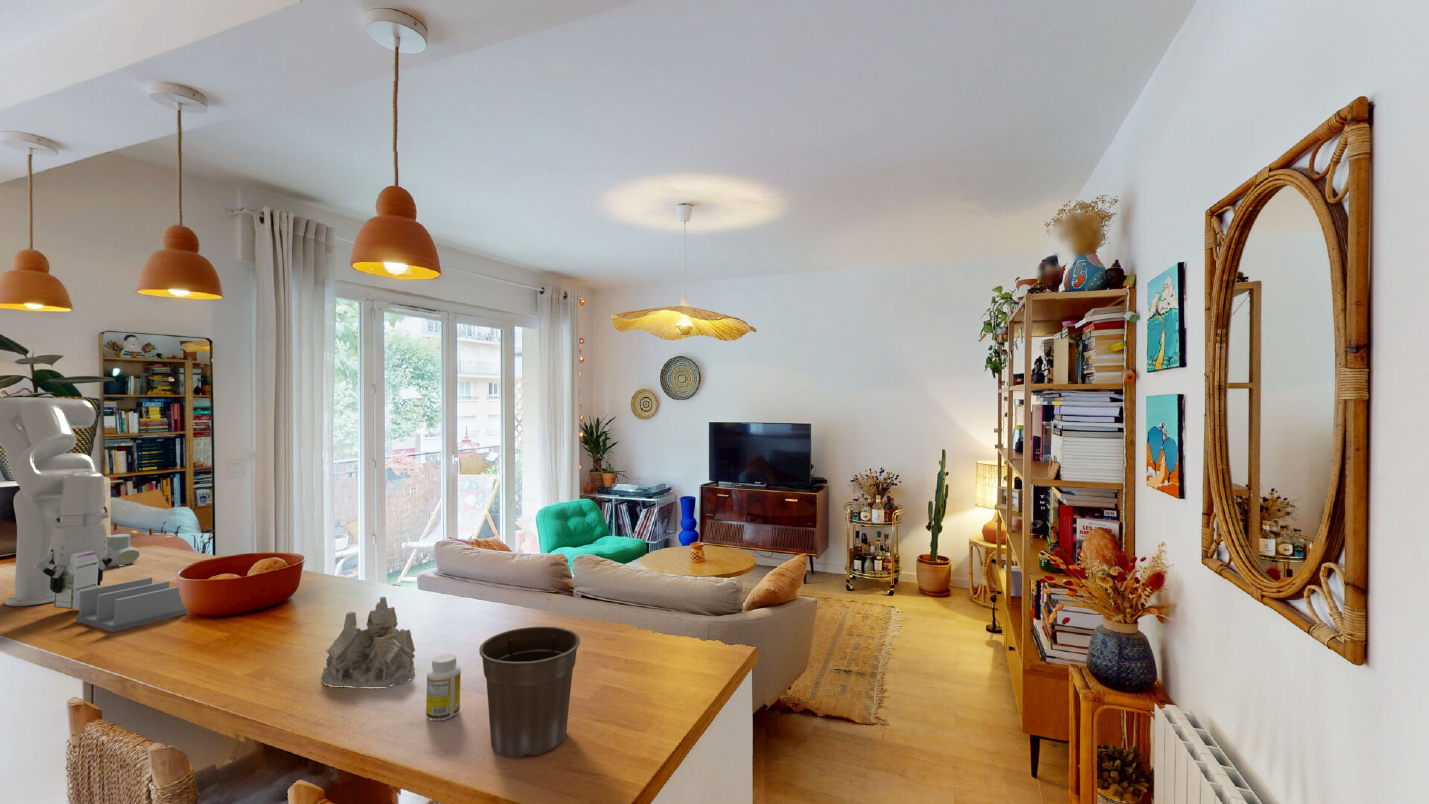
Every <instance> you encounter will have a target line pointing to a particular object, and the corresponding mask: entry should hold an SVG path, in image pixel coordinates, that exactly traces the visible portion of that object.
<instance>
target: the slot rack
mask: <svg viewBox="0 0 1429 804" xmlns="http://www.w3.org/2000/svg"><path fill="white" fill-rule="evenodd" d="M178 586H179V585H177V586H174V587H170V581H168V580H166V581H161V582H155V583H153V577H150V576H149V577H144V578H139V579H134V580H129V581H123V582H119V583H114V584H109V585H108V584H107V585H103V586H97V588H92V589H87V590H81V591H80V604H79V608H78V614H77V615H76V616H75V622H76V621H77V622H76V623H79V622H80V624H83V623H84V625H86V624H87V625H86V626H91V627H93V626H95V627H94V628H96V627H98V628H97V629H100V630H103V629H105V630H104V631H107V630H108V631H107V632H110V633H116V632H120V631H124V630H123V629H125V630H129V629H133V628H135V627H134V626H137V627H140V625H141V626H144V625H143V624H145V625H147V624H146V623H149V624H151V623H152V622H153V623H155V621H157V622H159V621H158V620H161V621H165V620H167V619H166V618H169V619H172V617H173V618H175V616H177V617H180V616H179V615H181V616H184V614H185V615H188V614H189V610H188V611H187V609H186V608H185V607H184V605H183V603H182V601H181V596H180V594H179V588H178ZM164 619H165V620H164ZM153 623H152V624H153ZM132 627H133V628H132Z"/></svg>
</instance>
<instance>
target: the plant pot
mask: <svg viewBox="0 0 1429 804" xmlns="http://www.w3.org/2000/svg"><path fill="white" fill-rule="evenodd" d="M580 643H581V638H580V635H578V634H577V633H576V632H575V631H573V630H570V629H565V628H564V627H563V628H562V627H559V626H529V627H522V628H515V629H510V630H506V631H503V632H500V633H498V634H495V635H492V636H491V637H489V638H487V639H486V640H484V641H483V642H482V643H481V644H480V646H479V649H478V651H479V656H480V657H481V658H482V666H483V667H482V668H483V674H484V675H483V676H484V677H485V681H486V691H487V693H486V694H487V704H488V718H489V719H488V720H489V731H490V732H489V733H490V735H489V736H490V746H491V748H492V750H493V749H494V750H493V751H494V752H495V751H496V752H495V753H497V754H498V753H499V755H500V756H503V755H504V757H507V758H513V757H516V759H517V757H521V758H523V757H524V756H526V755H531V756H532V757H536V756H541V755H542V754H545V753H549V752H550V751H551V750H554V749H555V748H557V747H558V746H559V745H561V744H562V742H563V741H564V740H565V739H566V736H567V731H568V718H569V710H570V709H569V708H570V699H571V689H572V680H573V670H574V667H575V665H576V661H577V660H576V659H577V649H578V648H579V646H580Z"/></svg>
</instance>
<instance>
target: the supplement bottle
mask: <svg viewBox="0 0 1429 804" xmlns="http://www.w3.org/2000/svg"><path fill="white" fill-rule="evenodd" d="M461 671H462V670H461V667H460V665H458V663H457V655H456V654H454V653H442V654H438V655H436V656H434V657H433V658H432V662H431V668H430V669H428V670H427V673H426V701H425V702H426V706H425V708H426V709H425V716H426V718H427V719H428V720H429V719H432V720H443V719H448V720H450V719H452V718H451V717H453V716H454V717H455V715H456V714H457V713H458V714H459V712H460V708H461V673H462V672H461ZM458 714H457V715H458ZM457 715H456V716H457ZM454 717H453V718H454ZM449 718H450V719H449ZM432 720H431V721H432Z"/></svg>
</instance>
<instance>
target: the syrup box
mask: <svg viewBox="0 0 1429 804" xmlns="http://www.w3.org/2000/svg"><path fill="white" fill-rule="evenodd" d="M98 564H99V560H98V558H97V557H96V555H95V553H94V551H91V550H88V551H82V552H78V553H74V554H72V555H71V558H70V564H69V566H66V568H65V569H64V571H63V572H62V574H61V575H60V577H62V578H63V582H62V592H61V593H55V601H54V602H53V603H54V604H53V605H54V606H53V607H54V608H60V609H67V610H75V609H79V604H80V591H81V590H87V589H92V588H97V587H98V586H97V582H98Z"/></svg>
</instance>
